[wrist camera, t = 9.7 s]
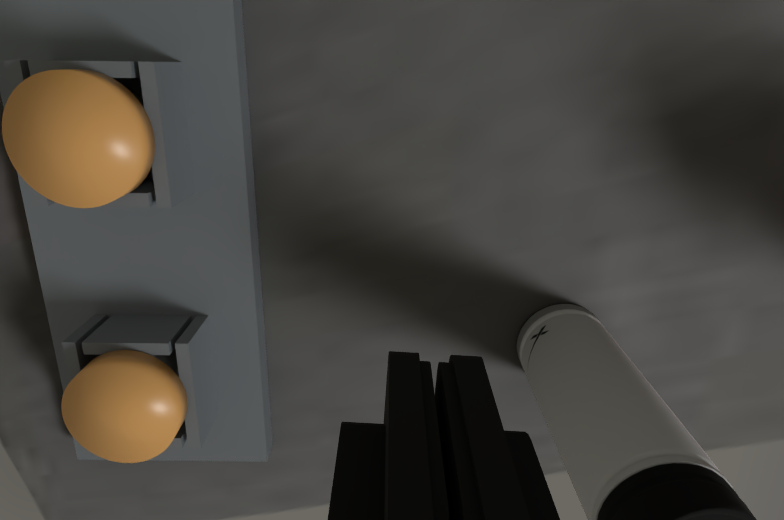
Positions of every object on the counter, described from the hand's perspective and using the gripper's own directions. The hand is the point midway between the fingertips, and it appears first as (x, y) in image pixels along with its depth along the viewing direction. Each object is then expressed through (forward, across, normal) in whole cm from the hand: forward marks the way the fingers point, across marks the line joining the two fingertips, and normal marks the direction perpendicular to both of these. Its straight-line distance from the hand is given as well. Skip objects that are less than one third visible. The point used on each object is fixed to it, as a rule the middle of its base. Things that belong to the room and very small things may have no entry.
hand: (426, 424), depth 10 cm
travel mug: (+28, -12, +12) cm, 33 cm away
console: (+28, +16, +7) cm, 33 cm away
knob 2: (+25, +16, +15) cm, 33 cm away
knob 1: (+25, +17, -1) cm, 30 cm away
